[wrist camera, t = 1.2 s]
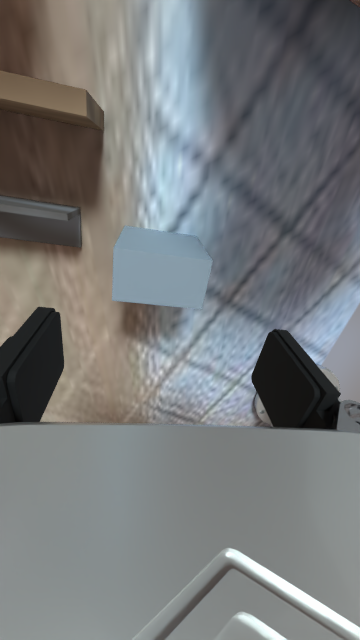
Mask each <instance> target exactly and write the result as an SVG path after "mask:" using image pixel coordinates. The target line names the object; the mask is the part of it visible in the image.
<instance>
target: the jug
mask: <svg viewBox="0 0 360 640" xmlns="http://www.w3.org/2000/svg"><path fill="white" fill-rule="evenodd" d="M350 1H351V2H353V3H354V4H355V5H357V6H358V7H360V0H350Z"/></svg>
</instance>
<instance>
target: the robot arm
mask: <svg viewBox="0 0 360 640" xmlns="http://www.w3.org/2000/svg"><path fill="white" fill-rule="evenodd" d="M63 368H64V356H63V344H62V332H61V320H60V313H59V312H55V309H54V308H46V307H38V308H37V309H36V310H35V311H34V312H33V313H32V315H31V316H30V317H29V318H28V319H27V320H26V322H25V323H24V324H23V325H22V326H21V327H20V329H19V330H18V331H17V332H16V333H15V334H14V336H12V337H9V338H8V339H7V340H6V341H5V342H4V343H3V345H2V346H1V347H0V640H360V403H358V402H356V401H352V400H344V401H341V400H340V399H339V396H340V394H341V393H340V392H339V391H340V390H339V389H340V388H339V387H340V386H339V381H338V379H337V378H336V376H335V375H334V374H333V373H332V372H331V371H330V370H329V369H327V368H325V367H323V366H320V365H316V364H315V363H314V361H313V360H312V359H311V358H310V357H309V356H308V354H307V353H306V352H305V351H304V350H303V348H302V347H301V346H300V345H299V344H298V343H297V341H296V340H295V339H294V338H293V337H292V335H291V334H290V333H289V332H288V331H287V330H277V329H274V330H273V331H272V332H270V333H269V334H268V336H267V338H266V341H265V343H264V346H263V348H262V351H261V353H260V356H259V358H258V361H257V363H256V366H255V368H254V371H253V373H252V383H253V385H254V387H255V389H256V391H257V394H256V397H255V409H256V412H257V414H258V416H259V418H260V419H261V420H262V421H264V422H265V423H266V424H269V425H271V426H272V427H255V426H223V425H186V424H145V423H97V422H40V420H41V418H42V415H43V413H44V411H45V409H46V407H47V404H48V402H49V400H50V398H51V396H52V393H53V391H54V389H55V387H56V385H57V382H58V380H59V378H60V376H61V374H62V371H63Z"/></svg>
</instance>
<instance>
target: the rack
mask: <svg viewBox="0 0 360 640" xmlns="http://www.w3.org/2000/svg"><path fill="white" fill-rule="evenodd" d="M0 110H5V111H10V112H15V113H20V114H25V115H30V116H35V117H39V118H44V119H49V120H54V121H59V122H64V123H69V124H74V125H79V126H83V127H88V128H93V129H98V130H103V131H104V111H103V110H102V109H101V108H100V106H99V105H98V104H97V103H96V101H95V100H94V99H93V98H92V97H91V95H90V94H89V93H88V92H87V90H84V89H80V88H76V87H71V86H67V85H62V84H58V83H54V82H49V81H45V80H40V79H36V78H32V77H27V76H23V75H18V74H14V73H10V72H5V71H1V70H0ZM0 237H4V238H12V239H19V240H27V241H35V242H42V243H50V244H58V245H65V246H73V247H82V242H81V213H80V207H73V206H67V205H60V204H54V203H47V202H41V201H34V200H28V199H21V198H15V197H8V196H2V195H0Z"/></svg>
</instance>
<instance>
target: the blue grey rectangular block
mask: <svg viewBox="0 0 360 640" xmlns="http://www.w3.org/2000/svg"><path fill="white" fill-rule="evenodd" d="M212 263H213V260H212V259H211V257H210V256H209V254H208V253H207V251H206V250H205V248H204V247H203V245H202V244H201V242H200V241H199V239H198V238H197V236H192V235H185V234H178V233H171V232H164V231H158V230H151V229H144V228H137V227H130V226H124V228H123V230H122V232H121V234H120V236H119V238H118V240H117V242H116V244H115V246H114V252H113V289H112V301H122V302H132V303H142V304H152V305H162V306H172V307H182V308H192V309H202V307H203V302H204V298H205V294H206V289H207V285H208V281H209V276H210V272H211V268H212Z"/></svg>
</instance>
